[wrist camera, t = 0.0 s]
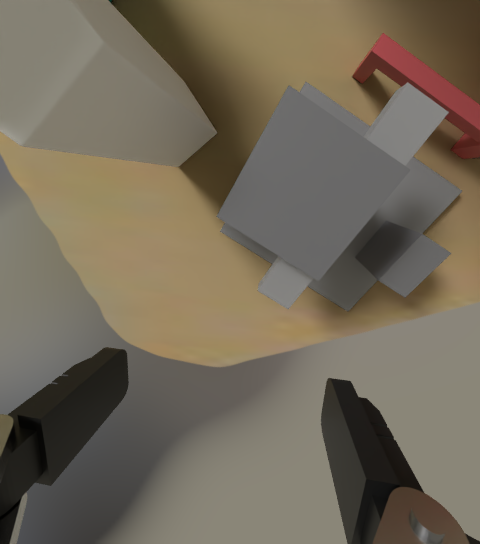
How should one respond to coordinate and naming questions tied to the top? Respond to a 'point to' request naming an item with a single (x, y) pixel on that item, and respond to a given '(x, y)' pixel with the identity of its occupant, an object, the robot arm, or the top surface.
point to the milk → (92, 85)
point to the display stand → (340, 198)
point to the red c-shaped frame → (426, 90)
